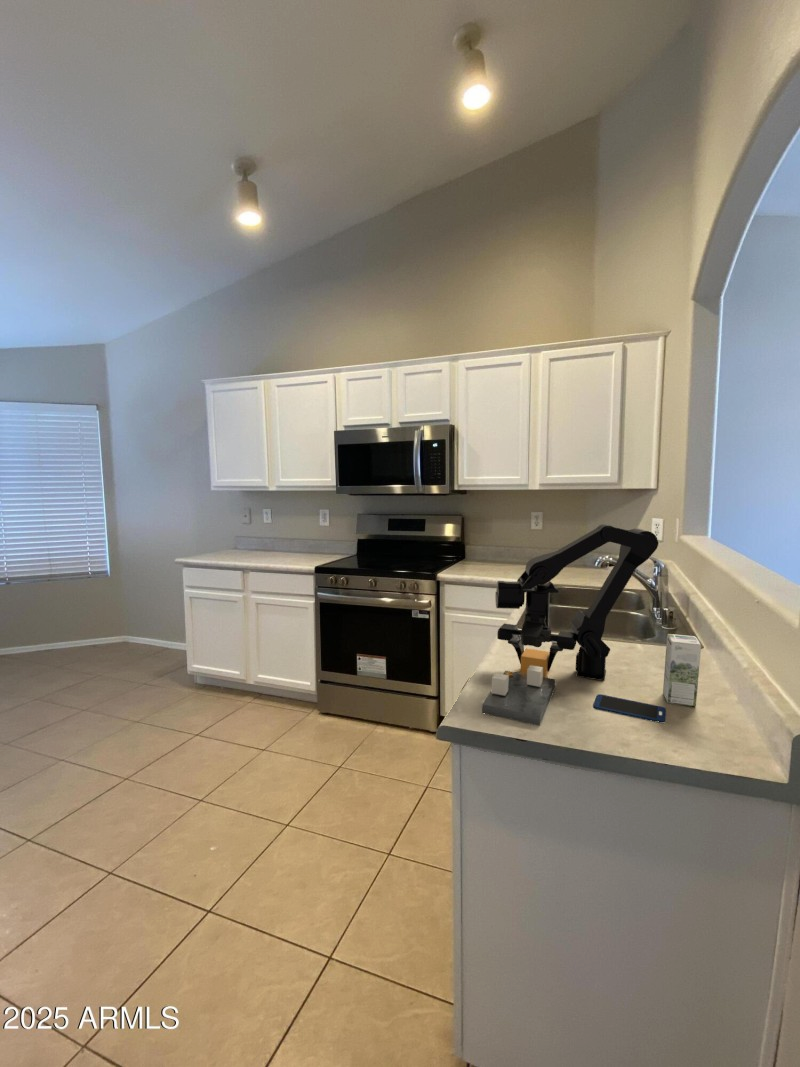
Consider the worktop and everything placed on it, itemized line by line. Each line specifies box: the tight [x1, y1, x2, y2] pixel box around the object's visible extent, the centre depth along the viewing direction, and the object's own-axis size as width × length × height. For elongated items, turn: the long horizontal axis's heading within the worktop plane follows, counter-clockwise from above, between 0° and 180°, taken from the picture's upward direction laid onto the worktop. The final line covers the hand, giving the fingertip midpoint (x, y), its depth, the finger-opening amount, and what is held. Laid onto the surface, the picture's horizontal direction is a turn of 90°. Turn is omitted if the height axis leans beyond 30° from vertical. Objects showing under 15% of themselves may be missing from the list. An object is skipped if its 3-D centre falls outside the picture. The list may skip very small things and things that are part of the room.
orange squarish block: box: [519, 648, 550, 678], centre depth 127 cm, size 6×6×5 cm
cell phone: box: [592, 694, 667, 723], centre depth 108 cm, size 7×14×1 cm, turn 61°
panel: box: [481, 670, 556, 726], centre depth 112 cm, size 12×20×2 cm, turn 154°
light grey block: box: [527, 665, 543, 687], centre depth 115 cm, size 3×3×4 cm
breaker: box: [490, 672, 509, 696], centre depth 110 cm, size 3×3×4 cm
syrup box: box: [662, 633, 702, 707], centre depth 111 cm, size 6×6×14 cm
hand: (535, 668), depth 127 cm, fingers closed on orange squarish block, 6 cm apart
